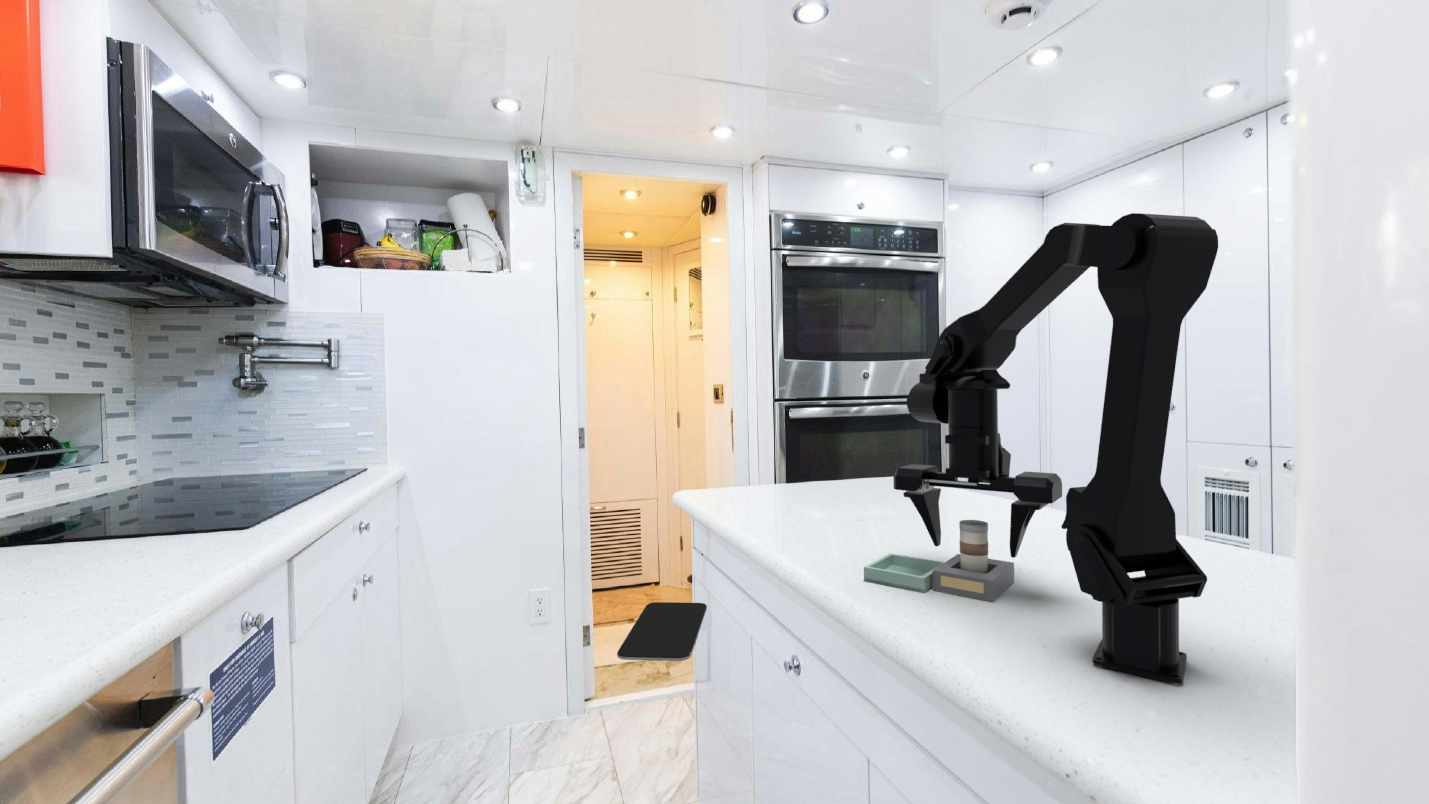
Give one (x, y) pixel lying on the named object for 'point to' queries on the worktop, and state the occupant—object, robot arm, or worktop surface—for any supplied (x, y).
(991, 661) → the worktop surface
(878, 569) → the parts tray
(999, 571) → the fuse holder
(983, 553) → the fuse
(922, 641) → the worktop surface
